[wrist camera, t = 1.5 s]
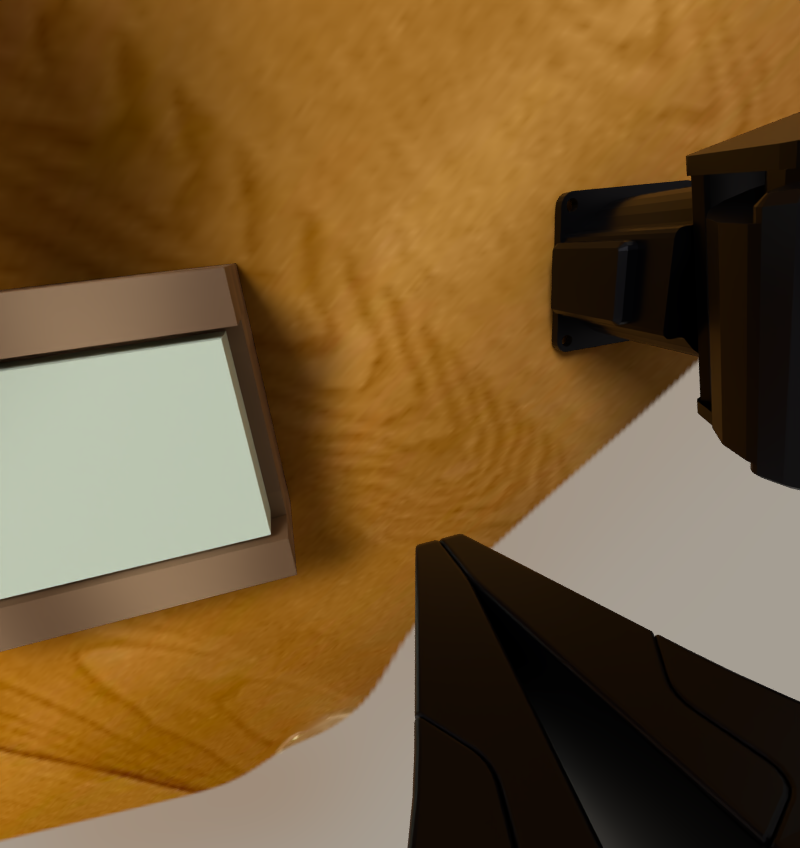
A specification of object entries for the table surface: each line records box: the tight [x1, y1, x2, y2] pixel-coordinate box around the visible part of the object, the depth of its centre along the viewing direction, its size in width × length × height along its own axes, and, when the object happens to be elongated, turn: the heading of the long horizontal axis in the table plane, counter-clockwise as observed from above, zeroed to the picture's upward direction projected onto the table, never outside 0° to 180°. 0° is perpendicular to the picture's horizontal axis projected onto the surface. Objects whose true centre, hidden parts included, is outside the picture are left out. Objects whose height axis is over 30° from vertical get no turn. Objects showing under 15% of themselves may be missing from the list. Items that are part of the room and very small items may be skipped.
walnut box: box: [0, 263, 297, 652], centre depth 14 cm, size 14×10×5 cm
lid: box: [0, 331, 271, 599], centre depth 13 cm, size 13×6×2 cm, turn 96°
